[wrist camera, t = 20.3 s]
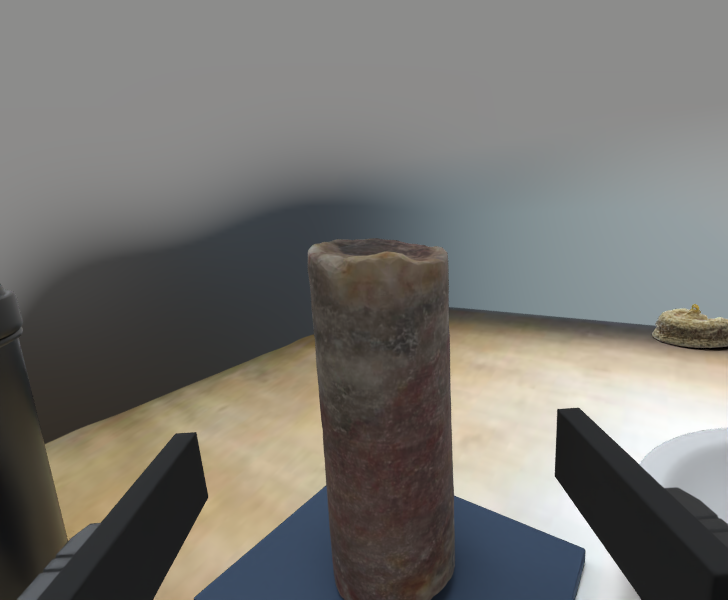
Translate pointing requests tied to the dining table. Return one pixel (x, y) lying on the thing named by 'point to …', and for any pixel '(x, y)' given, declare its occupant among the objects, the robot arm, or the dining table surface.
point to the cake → (691, 329)
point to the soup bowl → (694, 467)
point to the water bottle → (22, 469)
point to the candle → (385, 415)
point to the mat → (460, 596)
